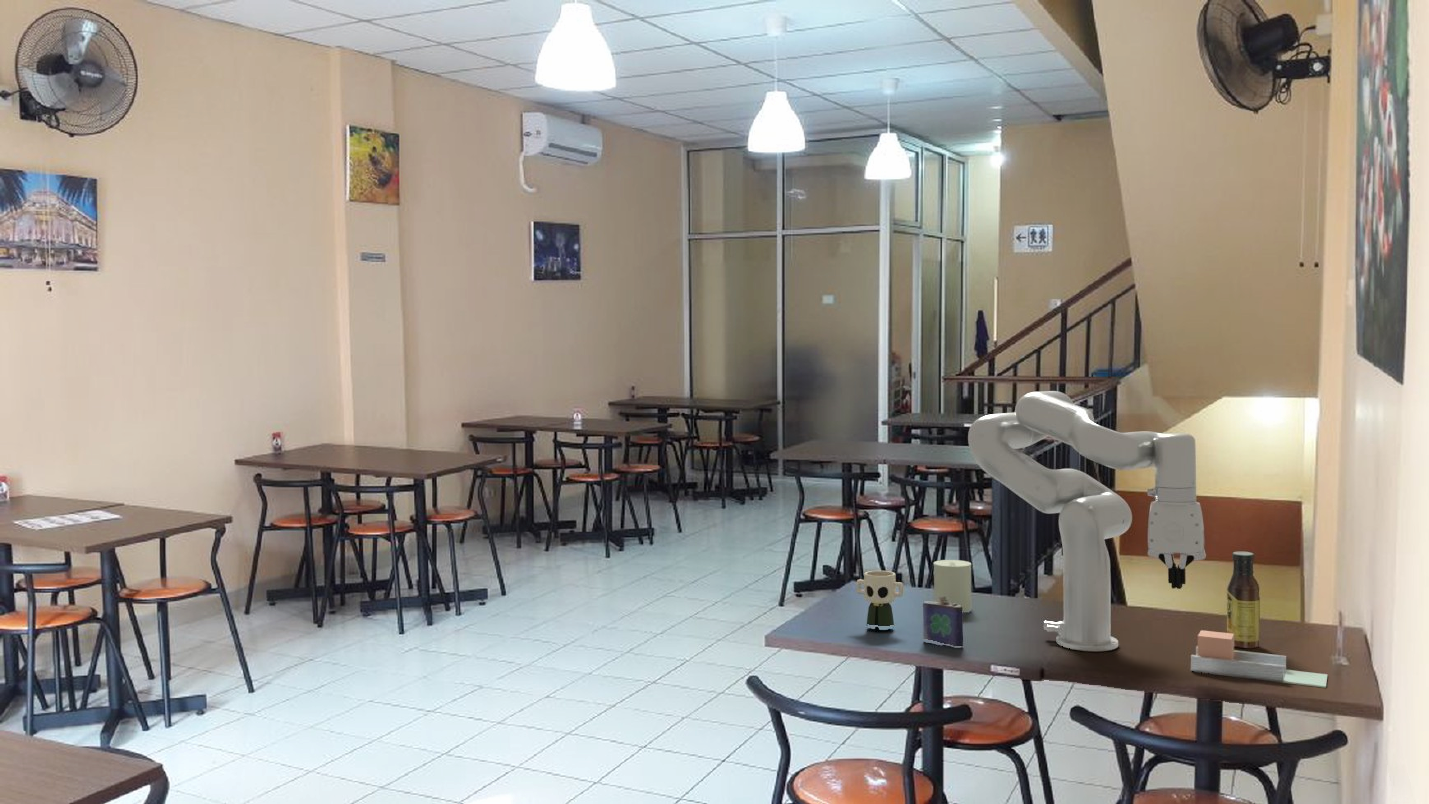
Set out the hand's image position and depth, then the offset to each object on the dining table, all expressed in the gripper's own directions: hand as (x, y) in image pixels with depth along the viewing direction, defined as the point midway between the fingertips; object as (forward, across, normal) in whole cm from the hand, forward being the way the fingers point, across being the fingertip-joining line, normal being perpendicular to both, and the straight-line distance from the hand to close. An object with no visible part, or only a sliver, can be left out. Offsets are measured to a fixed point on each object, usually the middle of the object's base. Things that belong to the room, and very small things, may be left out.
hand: (1177, 587), depth 218 cm
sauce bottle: (+16, +10, +21) cm, 28 cm away
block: (+15, +7, 0) cm, 16 cm away
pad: (+16, +22, 0) cm, 27 cm away
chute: (+16, +11, 0) cm, 19 cm away
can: (+15, -55, +26) cm, 63 cm away
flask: (+15, -46, -7) cm, 49 cm away
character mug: (+15, -63, -1) cm, 65 cm away
